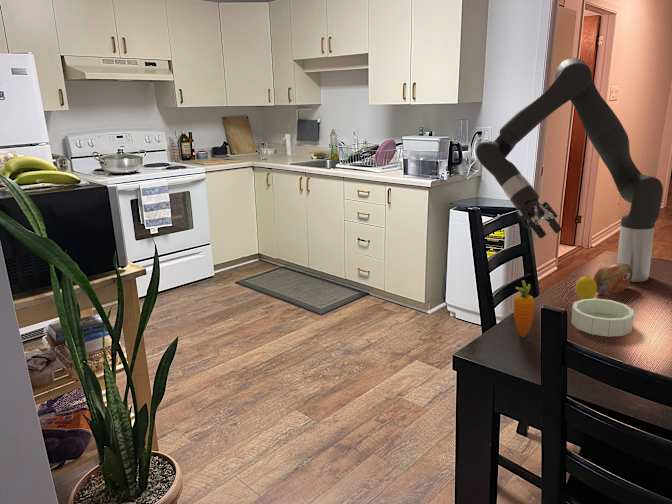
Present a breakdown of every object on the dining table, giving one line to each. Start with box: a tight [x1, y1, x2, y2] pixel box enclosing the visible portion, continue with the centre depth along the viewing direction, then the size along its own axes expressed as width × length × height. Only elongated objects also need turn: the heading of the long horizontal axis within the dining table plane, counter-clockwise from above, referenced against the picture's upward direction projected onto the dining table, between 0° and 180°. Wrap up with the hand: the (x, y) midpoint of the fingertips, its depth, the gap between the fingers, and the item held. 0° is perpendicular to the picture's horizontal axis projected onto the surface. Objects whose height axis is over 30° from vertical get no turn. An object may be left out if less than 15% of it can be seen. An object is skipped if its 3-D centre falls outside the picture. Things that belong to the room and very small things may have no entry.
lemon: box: [574, 275, 597, 300], centre depth 147 cm, size 6×6×8 cm
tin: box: [593, 262, 632, 297], centre depth 154 cm, size 15×3×8 cm, turn 117°
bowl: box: [570, 298, 635, 338], centre depth 133 cm, size 14×14×4 cm
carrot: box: [513, 280, 536, 339], centre depth 126 cm, size 5×5×15 cm
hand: (551, 234), depth 152 cm, fingers open, 8 cm apart
